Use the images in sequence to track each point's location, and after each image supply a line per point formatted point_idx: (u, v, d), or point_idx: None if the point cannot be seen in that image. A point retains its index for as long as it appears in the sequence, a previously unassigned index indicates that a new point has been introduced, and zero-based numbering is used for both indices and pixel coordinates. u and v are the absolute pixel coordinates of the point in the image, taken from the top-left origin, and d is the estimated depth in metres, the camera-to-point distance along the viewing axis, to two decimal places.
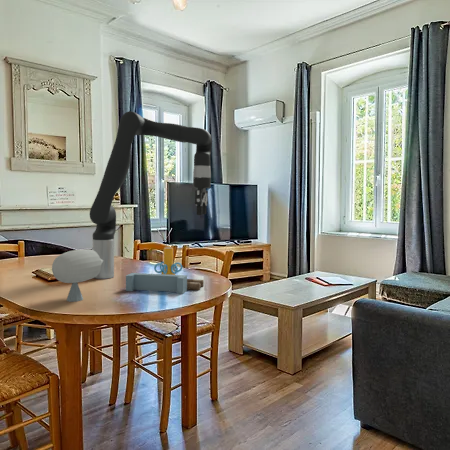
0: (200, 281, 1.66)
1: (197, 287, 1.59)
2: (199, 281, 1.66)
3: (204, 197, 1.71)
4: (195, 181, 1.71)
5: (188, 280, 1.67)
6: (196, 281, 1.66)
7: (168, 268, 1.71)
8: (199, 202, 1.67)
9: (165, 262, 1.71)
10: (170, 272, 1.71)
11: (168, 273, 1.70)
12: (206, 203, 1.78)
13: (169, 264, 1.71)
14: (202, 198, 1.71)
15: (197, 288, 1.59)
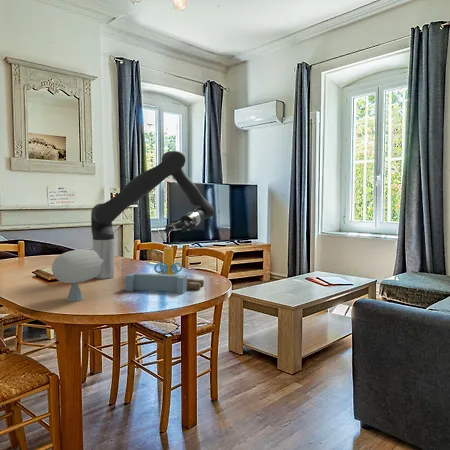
0: (200, 280, 1.66)
1: (197, 287, 1.59)
2: (199, 280, 1.66)
3: None
4: (193, 217, 1.91)
5: (188, 279, 1.67)
6: (196, 280, 1.66)
7: (168, 268, 1.71)
8: (193, 227, 1.82)
9: (165, 262, 1.71)
10: (170, 272, 1.71)
11: (168, 273, 1.70)
12: (171, 230, 1.87)
13: (169, 264, 1.71)
14: None
15: (197, 288, 1.59)
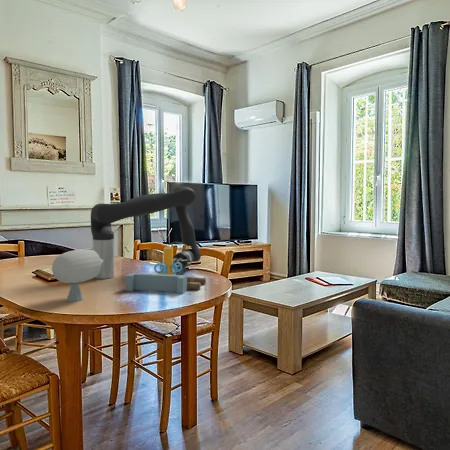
0: None
1: (197, 287, 1.59)
2: None
3: None
4: (187, 256, 1.93)
5: None
6: None
7: (168, 268, 1.71)
8: (182, 265, 1.83)
9: (165, 262, 1.71)
10: (170, 272, 1.70)
11: (168, 273, 1.70)
12: None
13: (169, 264, 1.71)
14: None
15: (197, 288, 1.59)
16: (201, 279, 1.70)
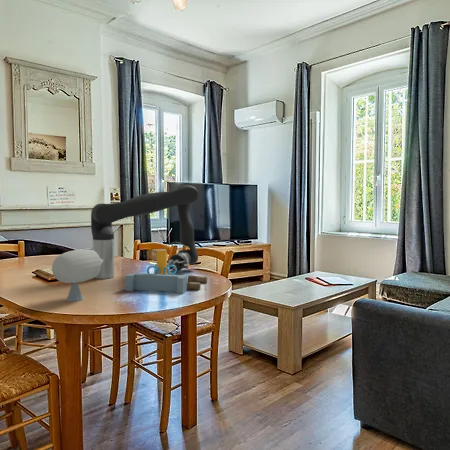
0: (204, 281, 1.73)
1: (197, 287, 1.59)
2: (203, 281, 1.73)
3: None
4: (184, 257, 1.86)
5: (192, 279, 1.73)
6: (200, 281, 1.73)
7: (161, 271, 1.64)
8: (178, 267, 1.76)
9: (158, 264, 1.64)
10: None
11: None
12: None
13: (162, 267, 1.64)
14: None
15: (197, 288, 1.59)
16: None
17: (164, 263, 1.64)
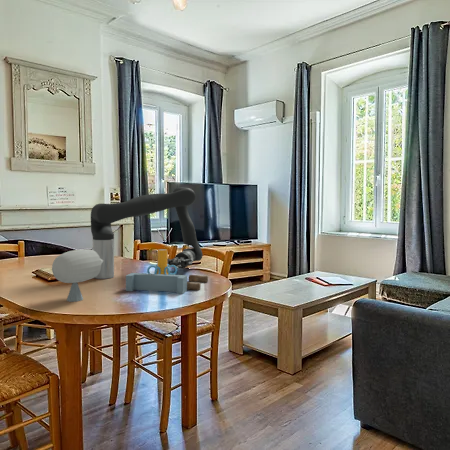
0: (205, 276, 1.75)
1: (197, 287, 1.59)
2: (204, 276, 1.75)
3: None
4: (189, 255, 1.94)
5: (194, 275, 1.76)
6: (201, 276, 1.75)
7: (161, 271, 1.64)
8: (183, 264, 1.84)
9: (158, 264, 1.64)
10: None
11: None
12: None
13: (162, 267, 1.64)
14: None
15: (197, 288, 1.59)
16: None
17: (165, 263, 1.64)
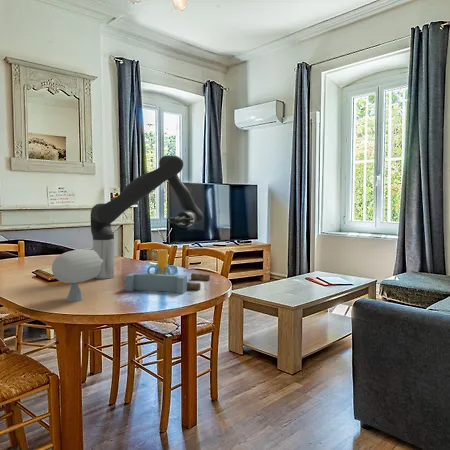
0: None
1: (197, 287, 1.59)
2: None
3: (182, 224, 1.90)
4: (190, 215, 1.96)
5: None
6: None
7: (161, 271, 1.64)
8: (185, 222, 1.86)
9: (158, 264, 1.64)
10: None
11: None
12: None
13: (162, 267, 1.64)
14: None
15: (197, 288, 1.59)
16: (206, 275, 1.79)
17: (165, 263, 1.64)
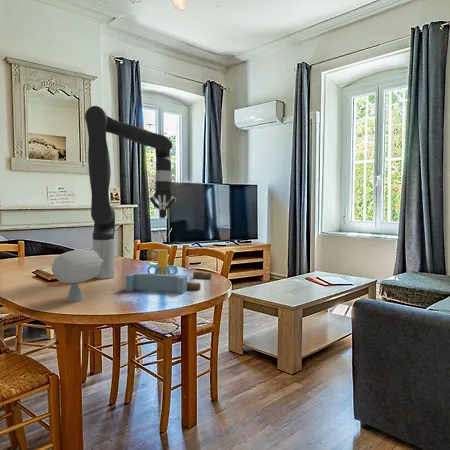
0: (208, 274, 1.82)
1: (197, 287, 1.59)
2: (207, 274, 1.82)
3: None
4: (168, 185, 1.86)
5: (197, 273, 1.83)
6: (205, 274, 1.82)
7: (161, 271, 1.64)
8: (170, 207, 1.89)
9: (158, 264, 1.64)
10: None
11: None
12: None
13: (162, 267, 1.64)
14: None
15: (197, 288, 1.59)
16: None
17: (165, 263, 1.64)
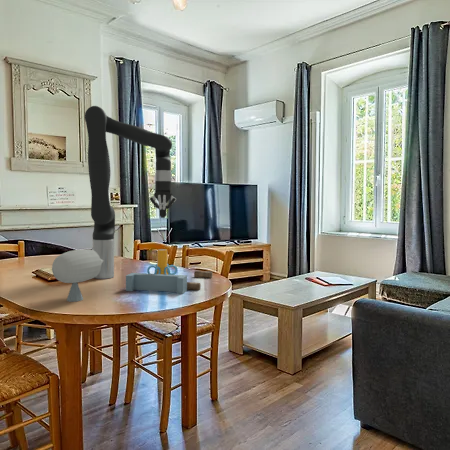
0: None
1: (197, 287, 1.59)
2: None
3: None
4: (168, 185, 1.86)
5: None
6: None
7: (161, 271, 1.64)
8: (170, 207, 1.89)
9: (158, 264, 1.64)
10: None
11: None
12: None
13: (162, 267, 1.64)
14: None
15: (197, 288, 1.59)
16: (208, 277, 1.85)
17: (165, 263, 1.64)
